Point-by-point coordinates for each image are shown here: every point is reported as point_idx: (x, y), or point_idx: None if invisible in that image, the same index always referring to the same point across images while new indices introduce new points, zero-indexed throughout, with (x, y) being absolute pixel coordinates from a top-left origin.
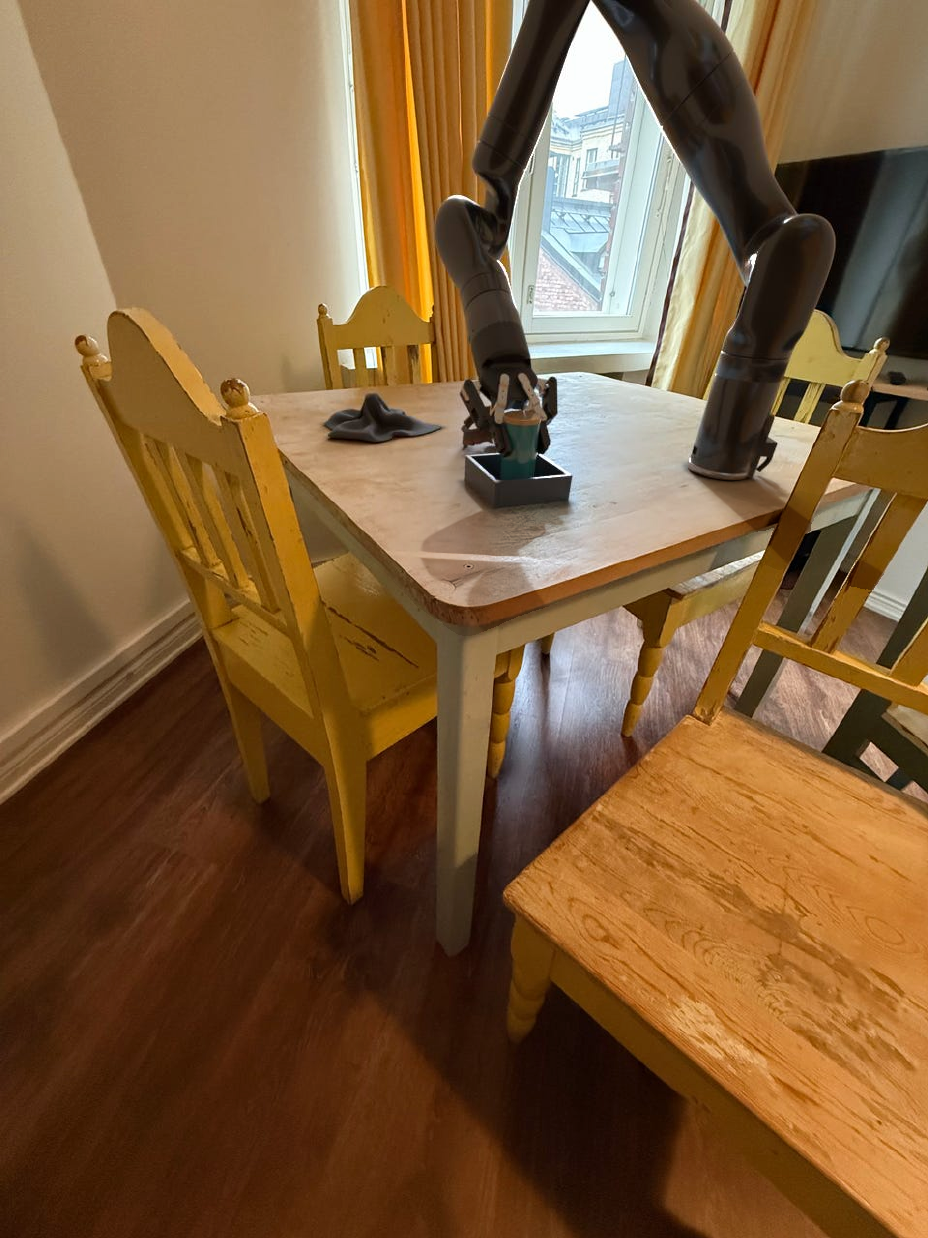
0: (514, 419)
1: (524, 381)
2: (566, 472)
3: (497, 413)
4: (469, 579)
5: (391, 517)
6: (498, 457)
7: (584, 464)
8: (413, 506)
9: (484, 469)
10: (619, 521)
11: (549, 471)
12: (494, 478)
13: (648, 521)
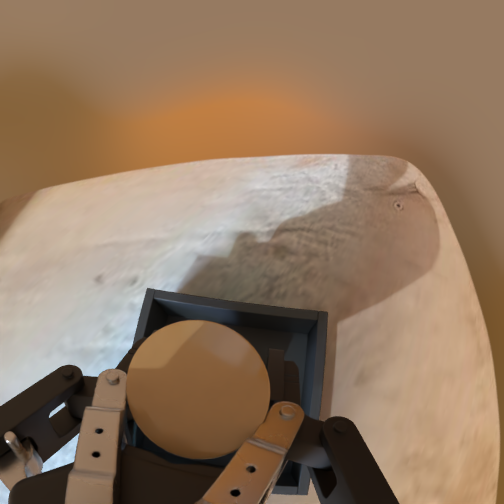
0: (257, 353)
1: (94, 484)
2: (145, 306)
3: (288, 429)
4: (401, 187)
5: (459, 356)
6: None
7: None
8: (427, 390)
9: (313, 394)
10: (146, 226)
11: None
12: (319, 334)
13: (114, 214)
